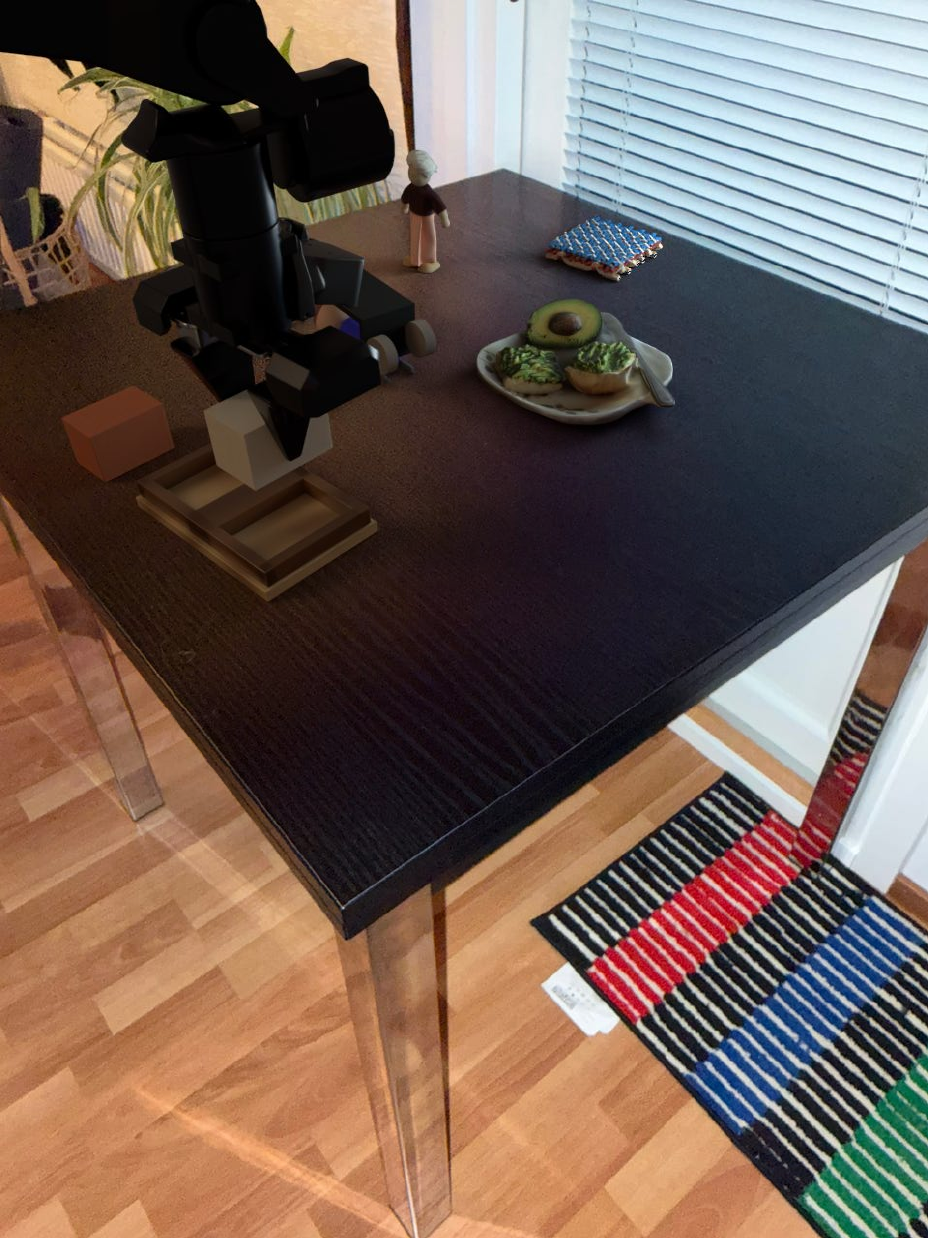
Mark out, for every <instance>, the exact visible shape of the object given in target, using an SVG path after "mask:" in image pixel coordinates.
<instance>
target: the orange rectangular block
mask: <svg viewBox="0 0 928 1238" xmlns="http://www.w3.org/2000/svg"><path fill="white" fill-rule="evenodd" d="M61 421H62V424H63V427H64V430H65V433H66V435H67V438H68V440H69V443H70V446H71V448H72V451H73V454H74V456H75V458H76V463H78V464H79V465H81V466H82V467H83V468H85V469H86V470H87V471H88V472H90V473H92V474H93V475H94V476H95V477H97V478H98V479H99V480H101V481H102V482H103V483H108V482H110V481H111V480H113V479H116V478H118V477H120V476H122V475H124V474H125V473H128V472H129V471H132V470H134V469H135V468H137V467H140V466H142V465H144V464H146V463H148V462H149V461H151V460H153V459H156V458H157V457H159V456H161V455H163V454H165V453H167V452H169V451H171V450H173V449H175V444H174V440H173V436H172V433H171V429H170V427H169V422H168V419H167V416H166V412H165V408H164V405H163V403H162V402H160V400H157V398H154V397H152V396H151V395H149V394H148V393H146V392H145V391H143V390H142V389H140V388H138V387H136V386H135V385H130V386H129V387H127V388H124V389H122V390H120V391H118V392H116V393H114V394H111V395H108V396H107V397H105V398H102V399H100V400H98V401H96V402H93V403H91V404H89V405H87V406H84V407H82V408H80V409H78V410H76V411H74V412H71V413H68V414H67V415H65V416H62V417H61Z"/></svg>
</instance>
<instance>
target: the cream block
mask: <svg viewBox="0 0 928 1238" xmlns="http://www.w3.org/2000/svg"><path fill="white" fill-rule="evenodd" d="M203 415H204V420H205V423H206V427H207V431H208V436H209V439H210V443H211V444H212V448H213V452H214V456H215V460H216V464H217V466H218V467H220V468H221V469H223V470H224V471H226V472H227V473H229V474H231V475H232V476H234V477H235V478H237V479H238V480H240V481H241V482H243V483H244V484H246V485H247V486H249V487H250V488H252V489H253V490H255V491H256V490H258V489H260V488H262V487H264V486H265V485H267V484H269V483H271V482H273V481H274V480H276V479H278V478H280V477H281V476H283V475H285V474H287V473H289V472H290V471H292V470H294V469H296V468H298V467H299V466H303V465H304V464H306V463H309V462H310V461H312V460H314V459H316V458H317V457H319V456H321V455H323V454H325V453H326V452H328V451H329V450H331V449H333V448H334V446H333V439H332V433H331V425H330V417H329V412H328V413H326V414H324V415H322V416H321V417H319V418H310V422H309V426H308V430H307V435H306V439H305V443H304V447H303V451H302V454H301V456H300V457H298V458H297V459H295V460H293V461H288V460H287V459H286V458H285V457H284V455H283V454H282V452H281V450H280V449H279V447H278V446H277V444H276V442H275V440H274V439H273V437H272V435H271V433H270V431H269V430H268V428H267V426H266V424H265V422H264V421H263V419H262V417H261V415H260V414H259V412H258V410H257V408H256V407H255V405H254V403H253V401H252V399H251V398H250V396H249V394H248V392H247V390H245V391H243V392H241V393H239V394H237V395H235V396H232V397H230V398H228V399H226V400H224V401H222V402H220V403H219V402H218V403H216V404H214V405H212V406H210V407H208V408H206V409H204V410H203Z"/></svg>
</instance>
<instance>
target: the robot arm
mask: <svg viewBox="0 0 928 1238" xmlns="http://www.w3.org/2000/svg"><path fill="white" fill-rule="evenodd" d="M264 17H265V16H264V13H263V11H262V8H261V6H260V5H259V2H257V0H0V53H2V54H3V53H4V54H9V55H10V54H11V55H19V56H27V57H28V56H29V57H37V58H45V59H53V60H61V61H69V62H70V61H71V62H78V63H84V64H87V65H90V66H93V67H96V68H99V69H102V70H105V71H106V70H107V71H109V72H112V73H114V74H117V75H120V76H123V77H126V78H128V79H130V80H131V79H132V80H134V81H137V82H140V83H143V84H145V85H148V86H151V87H154V88H157V89H160V90H162V91H166V92H168V93H169V92H170V93H172V94H176V95H179V96H182V97H185V98H189V99H192V100H195V101H198V102H201V103H202V104H199V105H193V106H189V107H185V108H180V109H175V110H172V111H169V110H168V109H167V108H165V107H164V105H160V104H159V103H157V102H155V101H153V100H151V99H150V98H143V99H142V100H141V101H140V105H139V109H138V112H137V114H136V115H135V117H134V118H132V121H131V122H130V123H129V124H128V125H127V127H126V129H125V130H124V131H123V133H122V134H121V136H120V143H121V144H122V146H123V147H124V148H127V149H128V150H129V151H131V152H133V153H134V154H136V155H138V156H140V157H141V158H143V159H145V160H146V161H148V162H150V163H152V164H155V163H160V162H164V161H165V164H166V168H167V172H168V176H169V181H170V185H171V189H172V194H173V198H174V203H175V207H176V212H177V216H178V220H179V221H178V222H179V225H180V228H181V234H182V238H179V239H176V240H173V241H171V242H170V244H169V245H170V247H171V253H172V257H173V259H174V260H175V261H177V262H179V263H181V265H182V266H179V267H176V268H174V269H171V270H169V271H166V272H163V273H161V274H158V273H157V274H158V275H157V274H156V275H153V276H150V277H147V278H145V279H143V280H140V282H139V283H138V286H137V288H136V290H135V292H134V294H133V296H132V304H133V306H134V311H135V313H136V317H137V318H136V319H137V321H138V324H139V326H141V327H143V328H145V329H147V330H148V331H149V332H152V333H153V334H155V335H157V336H159V337H163V336H165V335H167V334H169V332H170V330H171V328H172V327H173V326H172V322H173V323H175V327H176V330H177V335H178V337H177V338H176V339H173V340H172V341H171V342H170V343H169V346H170V348H171V350H172V352H173V353H175V354H177V356H179V358H181V360H182V361H183V362H184V363H185V364H186V365H187V367H188V368H189V369H190V371H192V373H193V374H194V375H195V376H196V377H197V379H198V380H199V381H200V382H201V383H202V384H203V385H204V386H205V388H206V389H207V390H208V392H209V393H210V394H211V395H212V396H213V397H214V398H215V400H216V401H217V402H218V403H220V402H222V401H224V400H226V399H228V398H230V397H232V396H235V395H237V394H239V393H241V392H243V391H245V390H247V392H248V394H249V396H250V398H251V399H252V401H253V403H254V405H255V407H256V408H257V410H258V412H259V414H260V415H261V417H262V419H263V421H264V422H265V424H266V426H267V428H268V430H269V431H270V433H271V435H272V437H273V439H274V440H275V442H276V444H277V446H278V447H279V449H280V450H281V452H282V454H283V455H284V457H285V458H286V459H287V460H288V461H293V460H295V459H297V458H298V457H300V456H301V454H302V451H303V447H304V443H305V439H306V435H307V430H308V426H309V422H310V418H319V417H321V416H322V415H324V414H326V413H328V414H329V413H330V412H332V411H334V410H336V409H337V408H340V407H341V406H343V405H345V404H347V403H349V402H351V401H353V400H354V399H357V398H359V397H360V396H362V395H364V394H366V393H368V392H369V391H372V390H373V389H375V388H378V387H380V386H381V385H382V380H381V369H380V358H379V351H378V350H377V349H375V348H374V347H372V346H371V345H369V344H368V343H366V342H364V341H362V340H360V339H358V338H356V337H353V336H351V335H349V334H347V333H345V332H343V331H341V330H339V329H337V328H335V327H333V326H331V325H329V326H327V327H325V328H323V329H321V330H319V331H318V330H317V331H314V332H312V333H306V334H303V333H300V332H298V331H296V330H294V329H293V324H292V323H293V322H295V321H299V322H301V323H303V322H305V321H307V320H309V319H311V318H314V316H316V310H315V307H316V305H345V307H347V308H355V307H357V304H358V298H359V292H360V286H361V280H362V274H363V269H364V266H365V261H366V260H365V258H364V257H363V256H361V255H358V254H356V253H354V252H351V251H349V250H347V249H345V248H341V247H339V246H337V245H334V244H332V243H328V242H325V241H321V240H318V239H316V238H313V237H309V233H308V228H307V226H306V225H305V223H303V222H299V221H297V220H295V219H293V218H290V217H285V216H279V210H278V202H277V197H276V190H275V186H276V187H277V188H278V189H280V190H283V191H285V190H286V192H287V193H288V194H289V195H290V196H291V197H292V198H293V199H294V200H295V201H297V202H298V203H301V204H307V203H310V202H314V201H317V200H320V199H324V198H327V197H330V196H334V195H337V194H341V193H344V192H348V191H352V190H355V189H358V188H361V187H365V186H368V185H373V184H375V183H378V182H382V181H384V180H386V179H387V178H388V177H389V175H391V172H392V170H393V167H394V164H395V157H396V137H395V132H394V130H393V129H392V128H391V127H390V121H389V118H388V115H387V112H386V109H385V107H384V105H383V103H382V101H381V99H380V97H379V96H378V94H377V93H376V91H375V89H374V88H373V87H372V86H371V81H370V68H369V66H368V65H367V64H366V63H364V62H362V61H359V60H357V59H356V60H355V59H353V58H350V57H345V58H340V59H336V60H333V61H329V62H328V63H326V64H324V65H323V66H320V67H317V68H313V69H307V70H304V71H299V72H296V71H295V69H294V68H293V67H292V66H291V64H290V63H289V62H288V61H287V59H286V58H285V57H284V56H283V54H282V53H281V52H280V51H279V50H278V48H277V47H276V46H275V44H274V43H273V42H272V41H271V39H270V38H269V37H268V27H267V24H266V21H265V18H264ZM244 101H245V102H247V103H250V104H252V105H254V106H256V108H250V109H247V110H243V111H237V112H232V113H229V112H228V111H227V110H226V109H225V108H223V107H227V106H234V105H236V104H239V103H241V102H244ZM171 321H172V322H171ZM254 358H255V359H257V360H264V359H267V358H269V360H268V363H267V364H266V366H265V369H264V377H265V379H264V380H262V381H260V382H258V383H256V375H255V367H254V365H255V364H254Z"/></svg>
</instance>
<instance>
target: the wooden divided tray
mask: <svg viewBox="0 0 928 1238" xmlns="http://www.w3.org/2000/svg"><path fill="white" fill-rule="evenodd" d="M136 484H137V486H138V490H139V493H140V494H139V495H137V496H135V499H136V503H137V505H138V507H139V508H140V509H141V510H143V512H145V513H147V514H148V515H150V516H151V517H152V518H153V519H155V520H156V521H157V522H159V523H160V524H162V526H164V527H166V529H168V530H170V532H172V533H174V534H175V535H176V536H178V537H179V538H180V539H182V540H183V541H184V542H186V543H187V544H189V545H190V546H191V547H193V549H195V550H197V551H198V552H199V553H201V555H203V556H205V557H206V558H207V559H209V560H210V561H212V562H213V563H214V564H216V565H217V567H219V568H221V569H222V570H224V571H225V572H226V573H228V574H229V575H231V576H232V577H233V578H235V579H236V580H237V581H238V582H240V583H241V584H243V585H244V586H246V587H247V588H248V589H249V590H251V591H252V592H253V593H254V594H256V595H257V596H259V597H260V598H262V599H263V600H264V601H266V602H267V603H268V602H270V601H272V600H274V599H275V598H276V597H278V596H279V595H281V594H282V593H284V592H286V591H288V590H289V589H291V588H292V587H294V586H295V585H296V584H298V583H300V582H301V581H302V580H304V579H306V578H307V577H309V576H311V575H312V574H314V573H315V572H317V571H318V570H320V569H322V568H323V567H324V566H326V565H327V564H329V563H330V562H332V561H334V560H335V559H337V558H338V557H340V556H341V555H343V554H345V553H346V552H348V551H349V550H351V549H352V548H354V547H356V546H357V545H359V544H360V543H362V542H363V541H365V540H367V539H368V538H369V537H371V536H372V535H374V534H375V533H377V532H378V522H377V521H376V520H374V519H373V518H372V517H371V509H370V506H367V505H366V504H365V503H363V502H361V501H360V500H357V499H356V498H354V497H353V496H351V495H349V494H348V493H346V492H345V491H343V490H341V489H339V488H338V487H336V486H335V485H333V484H332V483H329V482H328V481H327V480H325V479H323V478H321V477H320V476H318V475H317V474H315V473H313V472H311V471H309V469H307V468H305V467H304V466H303V465H301V466H299V467H298V468H296V469H294V470H292V471H290V472H289V473H287V474H285V475H283V476H281V477H280V478H278V479H276V480H274V481H273V482H271V483H269V484H267V485H265V486H264V487H262V488H260V489H258V490H256V491H255V490H253V489H252V488H250V487H249V486H247V485H246V484H244V483H243V482H241V481H240V480H238V479H237V478H235V477H234V476H232V475H231V474H229V473H227V472H226V471H224V470H223V469H221V468H220V467H218V466H217V464H216V460H215V456H214V452H213V448H212V444H211V442H209V443H208V444H205V445H203V446H202V447H200V448H197V449H195V450H193V451H192V452H190V453H187V454H186V455H184V456H182V457H180V458H178V459H176V460H174V461H172V462H170V463H169V464H166V465H164V466H163V467H161V468H158V469H157V470H155V471H153V472H151V473H148V474H147V475H145V476H143V477H141V478H139V479H137V480H136Z"/></svg>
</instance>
